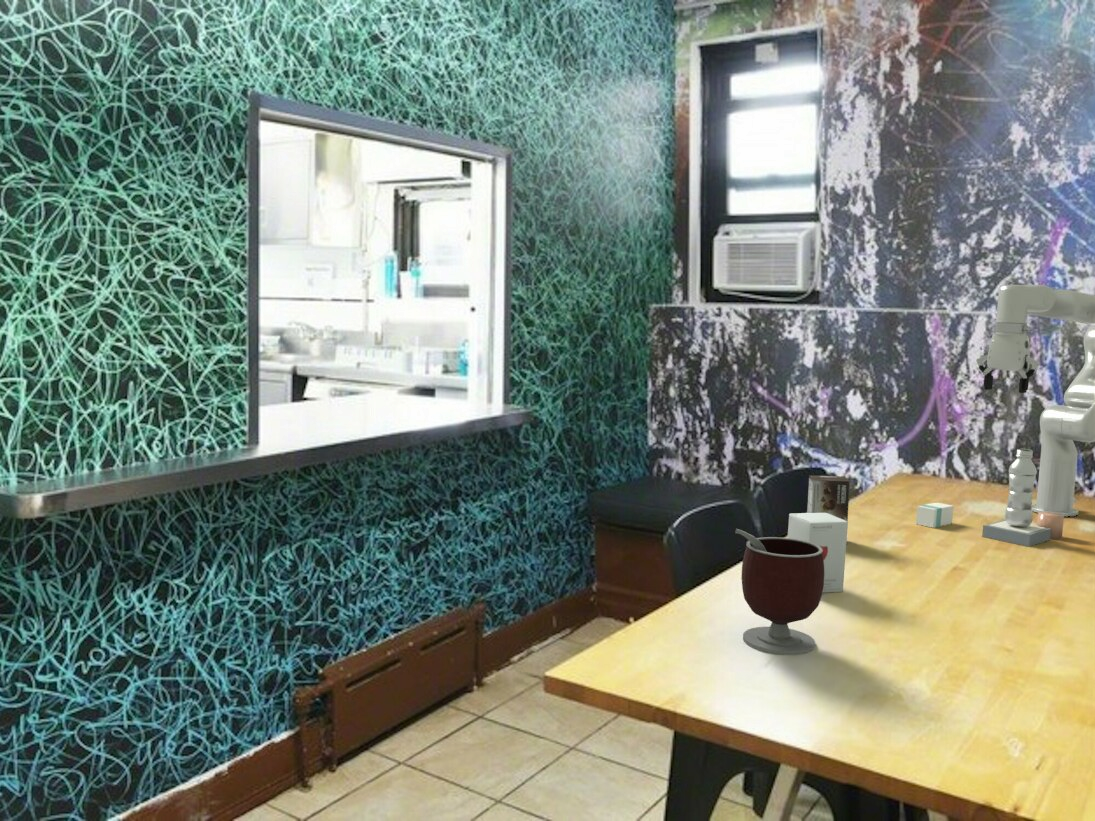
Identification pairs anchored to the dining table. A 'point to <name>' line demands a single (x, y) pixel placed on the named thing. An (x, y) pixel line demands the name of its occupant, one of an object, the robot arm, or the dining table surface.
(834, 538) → the supplement box
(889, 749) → the dining table surface
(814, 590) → the mate gourd
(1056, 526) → the pink smooth rounded part
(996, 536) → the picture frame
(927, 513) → the lying carton
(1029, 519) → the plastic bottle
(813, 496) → the coffee box
